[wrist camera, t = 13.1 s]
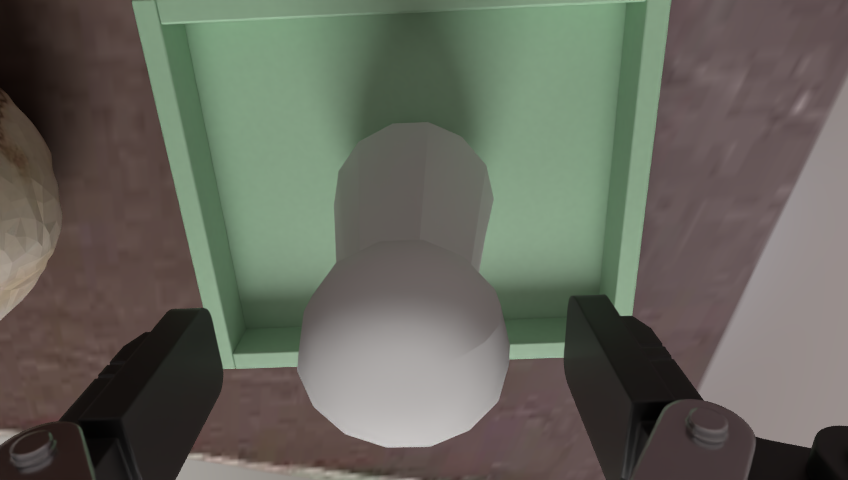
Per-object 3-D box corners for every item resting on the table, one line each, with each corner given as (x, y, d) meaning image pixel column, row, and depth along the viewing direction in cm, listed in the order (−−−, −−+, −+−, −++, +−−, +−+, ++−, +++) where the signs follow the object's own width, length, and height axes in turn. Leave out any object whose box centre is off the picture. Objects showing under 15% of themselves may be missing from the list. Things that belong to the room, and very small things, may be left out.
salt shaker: (468, 257, 23) (512, 519, 11) (336, 235, 23) (237, 481, 11) (500, 124, 21) (598, 274, 9) (355, 96, 21) (255, 215, 9)
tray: (236, 336, 26) (217, 370, 23) (165, 0, 20) (130, -1, 17) (608, 323, 25) (627, 355, 23) (645, -23, 20) (675, -28, 17)
